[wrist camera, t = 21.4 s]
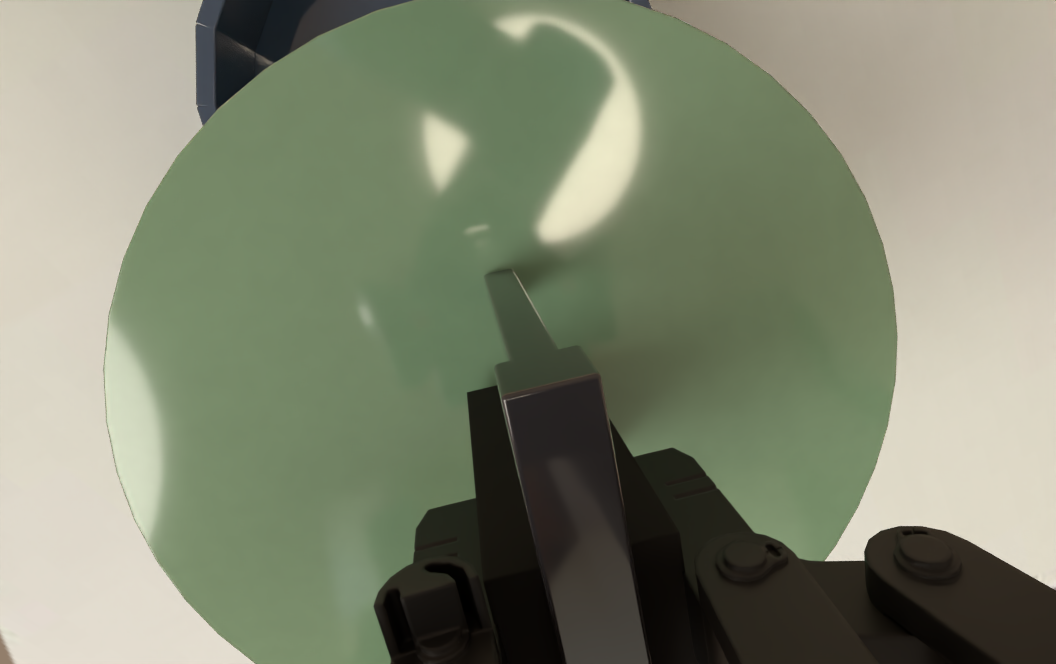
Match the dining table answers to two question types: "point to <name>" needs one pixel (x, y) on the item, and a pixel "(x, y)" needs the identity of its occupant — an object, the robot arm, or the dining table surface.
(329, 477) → the cover
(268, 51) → the bowl
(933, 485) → the dining table surface
